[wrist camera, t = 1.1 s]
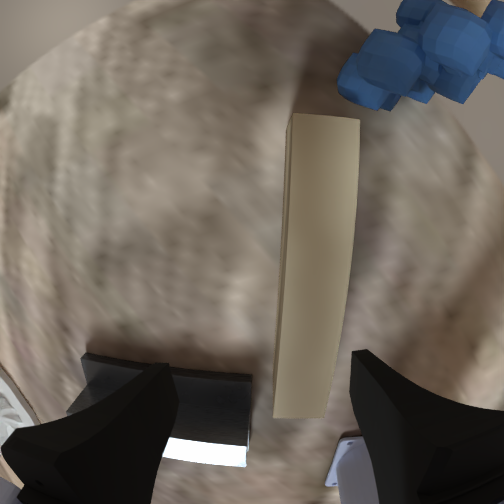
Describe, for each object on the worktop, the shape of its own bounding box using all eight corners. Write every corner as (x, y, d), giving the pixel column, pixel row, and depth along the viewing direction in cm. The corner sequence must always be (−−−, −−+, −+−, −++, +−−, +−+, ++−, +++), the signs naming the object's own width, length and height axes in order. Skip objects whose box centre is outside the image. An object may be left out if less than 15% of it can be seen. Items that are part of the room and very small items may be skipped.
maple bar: (333, 135, 18) (359, 119, 12) (313, 364, 22) (323, 418, 16) (285, 131, 18) (293, 112, 13) (272, 363, 22) (272, 417, 16)
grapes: (441, 25, 15) (534, -42, 4) (475, 107, 17) (596, 82, 5) (300, 45, 17) (330, -78, 5) (339, 139, 18) (432, 96, 6)
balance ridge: (251, 374, 22) (247, 419, 17) (248, 442, 24) (244, 485, 19) (85, 352, 23) (56, 384, 18) (104, 419, 25) (84, 453, 20)
